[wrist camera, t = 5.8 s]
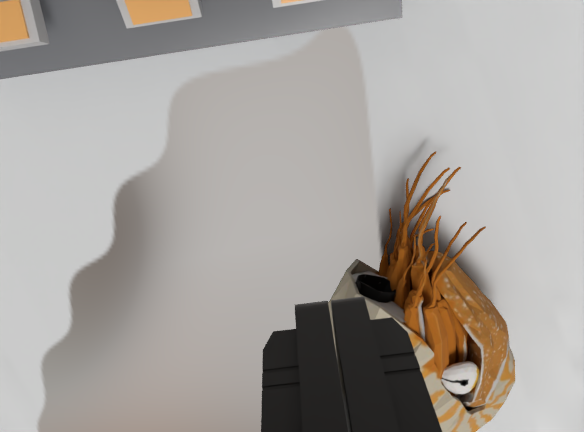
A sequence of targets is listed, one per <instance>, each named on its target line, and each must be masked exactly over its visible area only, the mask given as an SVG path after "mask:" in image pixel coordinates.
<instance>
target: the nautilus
mask: <svg viewBox="0 0 584 432" xmlns="http://www.w3.org/2000/svg"><path fill="white" fill-rule="evenodd" d="M434 154H436V152H434V153H433V154H431V155H430V157H429V158H428V159H427V161H426V162H425V163H424V165H423V166H422V168H421V169H420V171H419V173H418V175H417V177H416V179H415V181H414V183H413V186H412V188H411V191H410V193H409V189H408V181H409V178H407V182H406V203H405V205H404V214H403V216H404V222H403V223H401V212H400V226H399V229H398V231H397V235H396V242H395V245H394V252H393V253H390V255H389V256H390V265H388V254H387V245H388V243H389V241H390V238H391V234H392V219H391V211H390V210H391V208H390V209H389V212H390V223H391V228H390V236H389V239H388V241H387V243H386V245H385V250H384V255H383V256H382V260H381V262H380V268H379V271H377V270H375V269H373V268H371V267H370V266H368V265H366V264H365V263H363V262H361V261H360V260H358V259H356V260H355V262H353V264H352V265H351V266H350V267H349V268H348V269H347V270H346V272H345V274H344V276H343V278H342V280H341V281H340V283H339V285H338V287H337V289H336V291H335V292H334V294H333V296H332V298H331V300H338V299H346V298H354V297H363V296H364V298H365V301H366V305H367V309H368V313H369V316H370V320H374V319H382V318H390V317H392V318H393V319H394V320H395V321H396V322H398V323H399V324H400V325H401V326H402V327H403V328H404V329H405V330H406V331H407V332H408V335H409V337H410V340H411V343H412V346H413V349H414V352H415V356H416V358H417V360H418V363H419V366H420V371H421V372H422V375H423V378H424V381H425V383H426V386H427V389H428V392H429V395H430V398H431V401H432V404H433V406H434V409H435V412H436V415H437V418H438V421H439V424H440V427H441V429H442V432H475V431H477V430H478V429H479V428H481V427H482V426H483V425H485V424H486V423H487V422H489V421H490V420H491V419H492V418H493V417H494V416H495V415H496V413H497V412H498V411H499V409H500V408H501V406H502V405H503V403H504V402H505V400H506V398H507V396H508V394H509V392H510V390H511V388H512V386H513V384H514V383H515V360H514V357H513V354H512V351H511V349H510V347H509V336H508V330H507V324H506V322H505V320H504V319H503V318H502V316H501V315H500V313H499V312H498V311H497V309H496V308H495V307H494V305H493V304H492V302H491V301H490V300H489V299H488V298H487V297H486V296H485V295H484V294H483V293H482V292H481V291H480V289H479V288H478V287H477V286H476V284H475V283H474V282H473V281H472V280H471V279H470V278H469V277H468V276H467V275H466V274H465V273H464V272H463V271H462V269H461V268H460V267H459V266H458V265H457V263H456V262H455V260H456V259H457V257H458V256H459V255H460V254H461V253H462V252H463V250H464V249H465V248H466V246H467V245H468V244H469V243H470V242H472V241H473V240H474V238H475V237H476V236H477V235H478V234H479V233H480V232H481V231H482V230H483V229H485V228H486V227H483V228H481V229H479V230H478V231H477V232H476V233H475V234H474V235H473V236H472V237H471V239H470V240H468V241H467V242H466V243H465V244H464V245H463V247H462V248H461V249H460V251H459V252H458V253H457V254H456V255H455V256H454V257H453V258H452V259H451V258H450V257H448V256H446V255H447V253H448V252H449V250H450V247H451V245H452V243H453V242H454V240H455V239H456V238H457V236H458V234H459V233H460V231H461V229H462V228H463V227H464V226H465V225H466V223H467V222H465V223H464V224H463V225H462V226H461V227H460V228H459V230H458V231H457V233H456V234H455V236H454V237H453V238H452V240H451V241H450V243H449V245H448V247H447V249H446V251H445V253H444V254H442V253H441V252H438V246H439V245H438V228H439V221H440V218H441V216H439V218H438V220H437V221H436V228H435V234H434V240H435V243H433V244H431V245H430V246H429V248H428V250H427V251H426V252H425V248H424V246H422V243H423V234H424V233H426V232H428V231H431V230H434V228H433V229H427V230H425V228H426V226H427V224H428V222H429V219H430V217H431V215H432V213H433V210H434V208H435V206H436V203H437V200H438V198H439V196H440V195H441V194H443V193H445V192H448V191H450V190H445V191H443V190H444V188H445V186H446V185H447V184H448V182H449V181H450V180H451V178H452V177H453V176H454V175H455V173H456V172H457V171H458V170H459V169H460V168H461V167H459V168H457V169H456V170H454V172H453V173H452V174H451V175H450V176H449V177H448V178H447V179H446V180H445V182H444V184H443V185H442V187H441V188H440V189H439V191H438V192H437V193H436V194H435V196H434V197H432V198H430V199H429V200H428V201H426V202H425V203H424V204H423V205H422V206H420V205H421V203H422V202H423V200H424V198H425V197H426V195H427V194H428V192H429V191H430V189H431V188H432V187H433V186H434V185H435V184H436V183H437V181H438V180H439V179H440V178H441V177H442V176H443V174H444V173H445V172H447V171H448V170H449V169H450V168H447V169H446V170H444V171H443V172H442V173H441V174H440V175H439V176H438V177H437V178H436V179H435V181H434V182H433V183H432V184H431V185H430V186H429V187H428V188H427V189H426V191H425V193H424V194H423V196H422V197H421V199H420V200H419V202H418V203H417V205H416V206H415V208H414V209H413V211H412V212H411V214H410V216H409V217H408V213H409V203H410V200H411V198H412V195H413V193H414V190H415V188H416V185H417V183H418V180H419V178H420V176H421V173H422V172H423V170H424V168H425V167H426V165H427V164H428V162H429V160H430V159H431V157H432V156H433V155H434ZM430 204H431V205H430ZM419 206H420V207H419ZM425 206H426V207H425ZM429 206H430V207H429ZM424 207H425V208H424ZM428 207H429V208H428ZM423 208H424V210H423V212H422V214H421V215H420V217H419V219H418V221H417V223H416V225H415V227H414V229H413V231H412V233H411V235H410V238H409V237H408V235H407V228H408V226H409V223H410V221H411V219H412V218H413V217H414V216H415V215H416V214H417V213H418V212H420V211H421V210H422V209H423ZM427 208H428V210H427ZM426 210H427V212H426ZM425 212H426V214H425ZM424 214H425V215H424ZM423 216H424V217H423ZM422 218H423V219H422ZM421 220H422V221H421ZM420 222H421V223H420ZM419 224H420V226H419ZM418 226H419V233H418V234H417V235H416V234H415V232H416V230H417V228H418ZM424 230H425V231H424ZM400 232H401V233H400ZM414 234H415V236H414ZM413 236H414V237H413ZM417 236H418V242H417V243H418V245H416V237H417ZM413 240H414V249H413V247H412V246H413ZM433 245H435V250H434V251H430V249H431V248H432V246H433ZM427 265H428V267H427ZM430 269H431V270H432V271H431V270H430ZM331 300H330V301H329V302H328V305H329V311H330V318H331V324H332V330H333V337H334V328H333V319H332V310H331ZM334 343H335V337H334ZM335 350H336V346H335ZM336 356H337V355H336Z"/></svg>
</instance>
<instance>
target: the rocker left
mask: <svg viewBox="0 0 584 432" xmlns="http://www.w3.org/2000/svg"><path fill="white" fill-rule="evenodd" d="M46 44H50V43H49V39H48V35H47V30H46V26H45V22H44V18H43V14H42V10H41V5H40V1H39V0H0V52H1V51H7V50H14V49H20V48H26V47H33V46H39V45H46Z"/></svg>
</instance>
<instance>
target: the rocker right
mask: <svg viewBox="0 0 584 432" xmlns="http://www.w3.org/2000/svg"><path fill="white" fill-rule="evenodd" d="M315 1H322V0H272V3H273V8H276V7H283V6H289V5H296V4H302V3H309V2H315Z"/></svg>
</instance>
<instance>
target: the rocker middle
mask: <svg viewBox="0 0 584 432" xmlns="http://www.w3.org/2000/svg"><path fill="white" fill-rule="evenodd" d="M116 1H117V4H118V7H119V9H120V12H121V14H122V17H123V20H124V22H125V25H126V28H134V27H140V26H147V25H153V24H160V23H166V22H173V21H179V20H186V19H192V18H199V17H202V5H201V0H116Z"/></svg>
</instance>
